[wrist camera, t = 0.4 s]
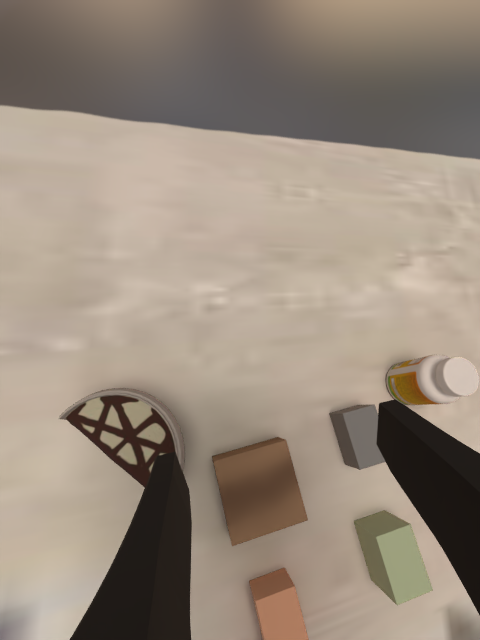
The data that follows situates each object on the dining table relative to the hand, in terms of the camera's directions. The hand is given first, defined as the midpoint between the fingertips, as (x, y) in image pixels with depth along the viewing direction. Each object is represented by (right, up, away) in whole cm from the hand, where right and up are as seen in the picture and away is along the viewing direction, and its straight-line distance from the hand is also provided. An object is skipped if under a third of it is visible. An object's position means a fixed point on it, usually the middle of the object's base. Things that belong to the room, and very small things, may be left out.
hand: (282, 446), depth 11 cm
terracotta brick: (+2, -26, +23) cm, 35 cm away
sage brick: (+14, -21, +26) cm, 36 cm away
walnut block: (0, -14, +26) cm, 30 cm away
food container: (-12, -8, +26) cm, 30 cm away
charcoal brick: (+12, -10, +29) cm, 33 cm away
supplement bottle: (+20, -4, +31) cm, 37 cm away
